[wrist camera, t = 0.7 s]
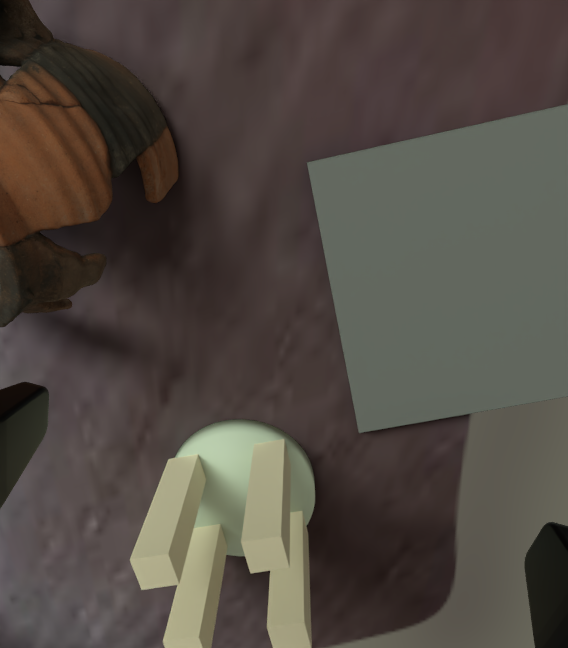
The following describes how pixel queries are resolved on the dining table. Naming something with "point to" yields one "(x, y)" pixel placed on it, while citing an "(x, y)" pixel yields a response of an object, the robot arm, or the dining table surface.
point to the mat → (450, 268)
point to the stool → (231, 529)
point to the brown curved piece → (65, 157)
